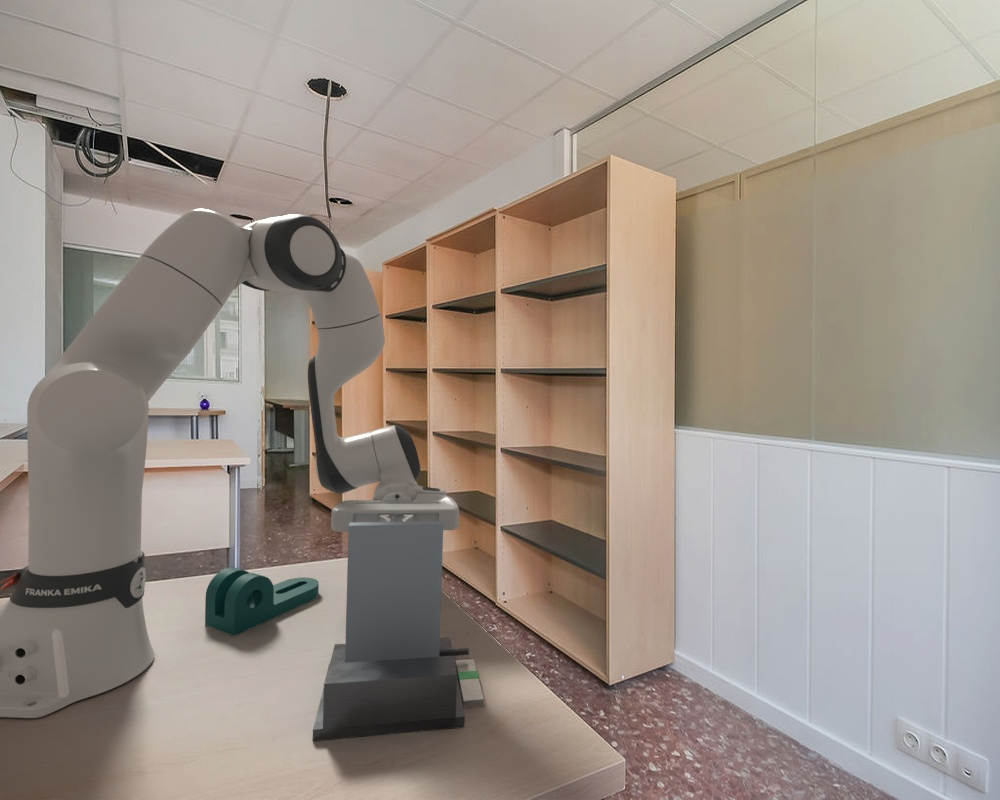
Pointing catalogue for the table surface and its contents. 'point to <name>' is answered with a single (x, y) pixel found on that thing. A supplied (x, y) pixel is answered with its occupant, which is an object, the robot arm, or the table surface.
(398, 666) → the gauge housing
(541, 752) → the table surface
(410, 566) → the grey upright panel
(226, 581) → the bracket
